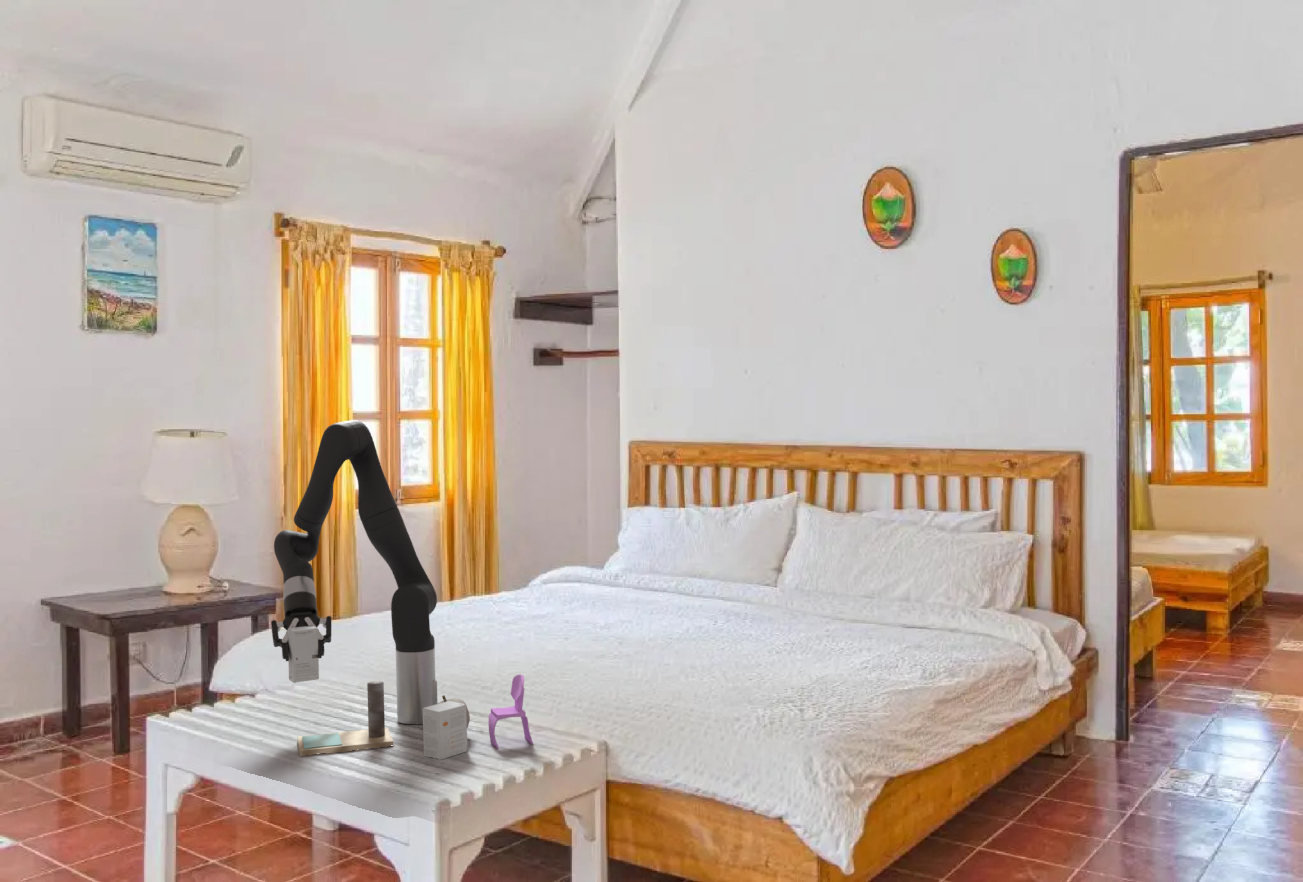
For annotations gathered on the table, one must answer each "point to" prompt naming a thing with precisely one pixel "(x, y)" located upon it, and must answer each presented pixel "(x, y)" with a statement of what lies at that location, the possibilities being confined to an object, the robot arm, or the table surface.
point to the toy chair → (511, 710)
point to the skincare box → (303, 654)
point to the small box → (444, 729)
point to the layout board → (354, 739)
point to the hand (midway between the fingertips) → (303, 657)
